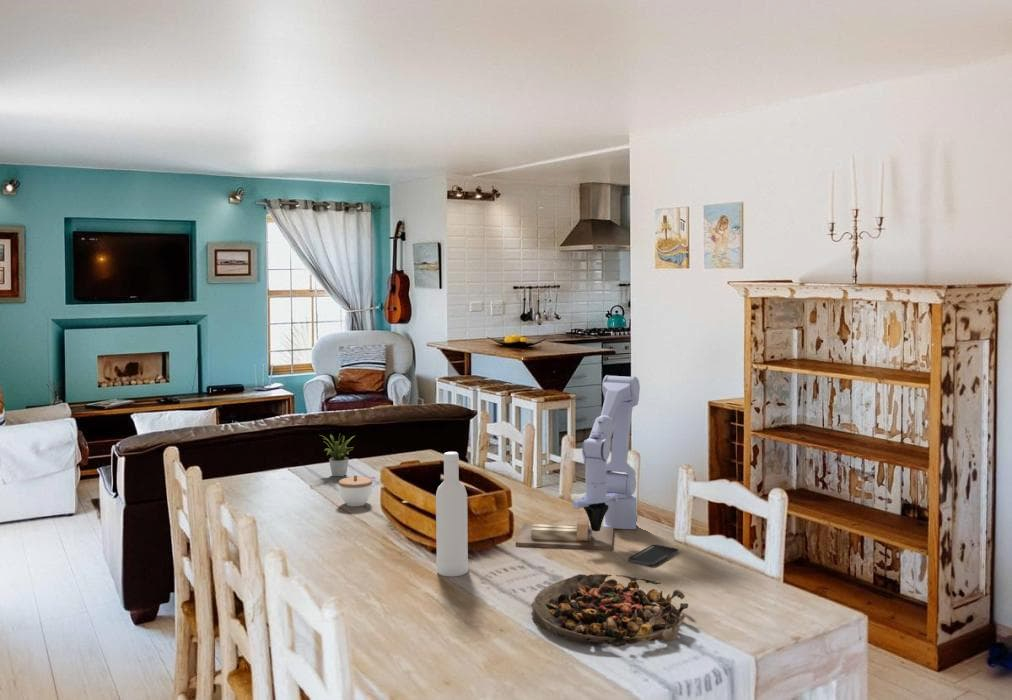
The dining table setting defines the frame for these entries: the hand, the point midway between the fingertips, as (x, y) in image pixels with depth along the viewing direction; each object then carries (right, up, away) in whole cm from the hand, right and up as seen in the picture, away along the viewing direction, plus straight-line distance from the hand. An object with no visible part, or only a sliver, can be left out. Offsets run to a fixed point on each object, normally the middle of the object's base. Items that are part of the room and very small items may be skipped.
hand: (595, 530), depth 237 cm
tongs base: (-8, -3, +5) cm, 10 cm away
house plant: (-88, +3, +81) cm, 119 cm away
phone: (+14, -5, -12) cm, 19 cm away
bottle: (-38, -6, -22) cm, 45 cm away
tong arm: (-11, -2, +4) cm, 11 cm away
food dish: (-3, -9, -51) cm, 51 cm away
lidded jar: (-73, 0, +41) cm, 84 cm away
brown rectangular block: (-3, -2, +1) cm, 4 cm away
